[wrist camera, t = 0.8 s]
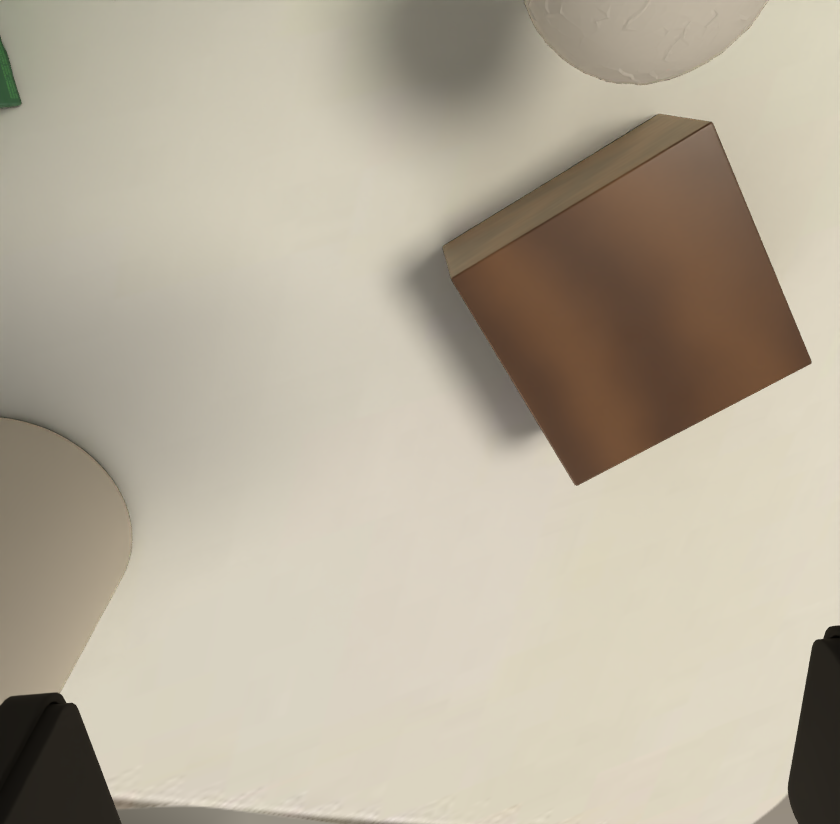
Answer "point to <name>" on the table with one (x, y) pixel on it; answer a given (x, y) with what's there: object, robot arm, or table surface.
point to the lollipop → (641, 34)
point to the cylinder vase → (53, 555)
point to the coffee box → (7, 82)
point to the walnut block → (629, 295)
